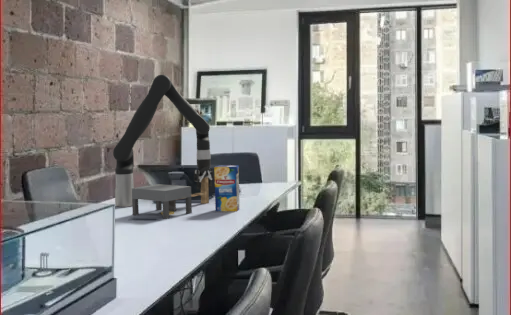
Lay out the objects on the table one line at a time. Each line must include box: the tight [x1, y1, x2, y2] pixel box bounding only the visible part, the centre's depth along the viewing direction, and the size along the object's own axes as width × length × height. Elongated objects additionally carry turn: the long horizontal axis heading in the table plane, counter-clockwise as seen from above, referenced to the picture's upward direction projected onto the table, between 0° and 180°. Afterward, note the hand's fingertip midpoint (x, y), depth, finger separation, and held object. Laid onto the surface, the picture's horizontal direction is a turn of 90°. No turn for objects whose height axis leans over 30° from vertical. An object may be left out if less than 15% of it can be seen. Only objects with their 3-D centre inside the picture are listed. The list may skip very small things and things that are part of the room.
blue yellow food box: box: [213, 164, 241, 212], centre depth 287 cm, size 7×11×22 cm, turn 81°
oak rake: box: [169, 177, 210, 212], centre depth 301 cm, size 28×5×14 cm, turn 145°
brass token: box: [160, 210, 175, 216], centre depth 279 cm, size 4×4×2 cm
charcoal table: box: [131, 183, 193, 220], centre depth 279 cm, size 22×18×13 cm
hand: (204, 188), depth 311 cm, fingers open, 8 cm apart
